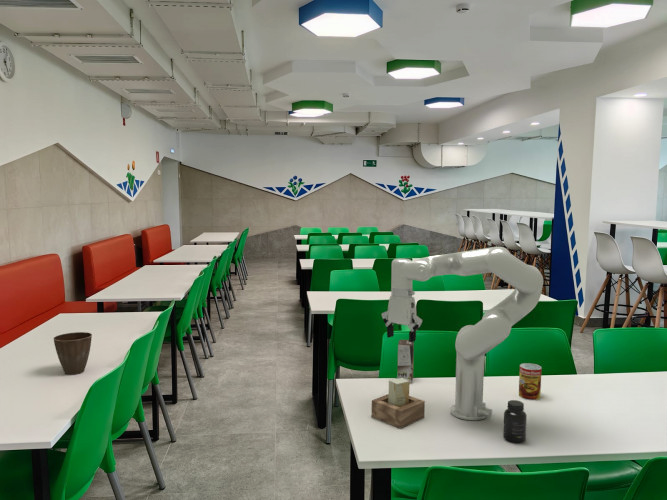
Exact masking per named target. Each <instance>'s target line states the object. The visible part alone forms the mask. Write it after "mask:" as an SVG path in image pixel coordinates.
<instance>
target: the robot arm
mask: <svg viewBox="0 0 667 500" xmlns="http://www.w3.org/2000/svg"><path fill="white" fill-rule="evenodd" d="M488 273H489V274H490V273H492V274H494V275H495V276H496V277H498V278H499V279H501V280H502V281H504V282H505V283H507V284H508V285H510V286H512V287H513V288H514V290H513V291H512V292H511V293H510V294H509V295H507V296H506V297H505V298H504V299H503V300H501V301H500V302H499V303H497V304H495V305H494V306H493V307H491V308H489V309H488V310H487V311H485V312H484V314H483V316H482V318H481V320H479V321H478V322H477V323H475V324H474V325H473V324H468V325H465V326H462V327H461V328H460V329H459V331H458V332H457V334H456V339H455V346H454V347H455V351H456V358H455V362H456V363H455V392H454V394H455V395H454V398H455V399H454V405H452V406H451V407H450V414H451V415H452V416H454V417H455V418H458V419H462V420H465V421H481V420H483V419H485V418H487V417H488V418H491V417H492V416H493V409H492V408H487V407H486V404H487V403H486V402H484V375H485V355H486V354H487V353H488V352H490V351H491V350H493V349H494V348H496V347H497V346H498V345H500V344H502V343H503V342H504V341H505V340H506V339H507V338H508V337H509V335H510V334H511V330H512V327H513V326H514V325H515V324H517V323H518V322H519V321H521V320H522V319H523V318H524V317H526V316H527V315H528V314H529V313H530V312H532V311H533V309H535V308H536V306H537V305H538V303H539V301H540V298H541V296H542V292H543V291H542V290H543V285H544V277H543V274H542V273H541V271H540V270H539V269H538V268H537V267H536V266H533V265H531V264H527V263H525V262H524V261H523V260H521V259H519V258H517V257H516V256H515V255H513V254H512V253H511V252H510V251H509V249H507V248H506V247H504V246H493V247H486V248H478V249H473V250H465V251H464V250H463V251H458V252H454V253H445V254H437V255H431V256H426V257H421V258H419V259H417V260H411V259H410V258H394V259H393V260H392V261H391V279H390V281H391V282H390V283H391V288H390V289H391V292H390V293H391V294H390V296H389V300H388V305H387V311H384V312H382V313H381V317H382V321H383V324H385V327H386V337H387V338H388V339H390V338H392V337H394V335H395V333H394V332H395V331H394V330H395V328H394V324H395V325H396V324H397V325H402V326H407V327H408V329H409V330H410V331H409V332H408V340H409V342H416V339H417V331H418V329H419V328H421V325H422V323H423V319H422V318H420V317H419V316H418V315H417V305H416V301H415V297H414V295H416V292H415V291H414V290H413V281H419V282H426V281H428V280H430V278H431V279H432V278H433V277H438V276H445V275H456V276H460V277H462V276H463V277H467V276H468V277H469V276H475V275H481V274H488Z"/></svg>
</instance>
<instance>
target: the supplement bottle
mask: <svg viewBox="0 0 667 500" xmlns="http://www.w3.org/2000/svg"><path fill="white" fill-rule="evenodd" d="M524 410H525V405H524V402H522V401H520V400H516V399H515V400H514V399H512V400H511V399H510V400H508V401H507V408H506V409H505V410H504V412H503V428H502V429H503V431H502V432H503V433H502V436H503V438H504V440H505V441H507V442H509V443H512V444H517V445H519V444H523V443H524V442H526V439H527V438H526V437H527V420H528V418H527V413H526V411H524Z"/></svg>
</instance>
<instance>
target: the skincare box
mask: <svg viewBox="0 0 667 500" xmlns="http://www.w3.org/2000/svg"><path fill="white" fill-rule="evenodd" d="M410 384H411V383H410V381H408V380H406V379H404V378H399V379H397V378H394V379H390V380H388V393H387V394H388V403H389V404H392V405H395V406H397V407H402V406H405V405H407V404H409V396H410Z"/></svg>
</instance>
